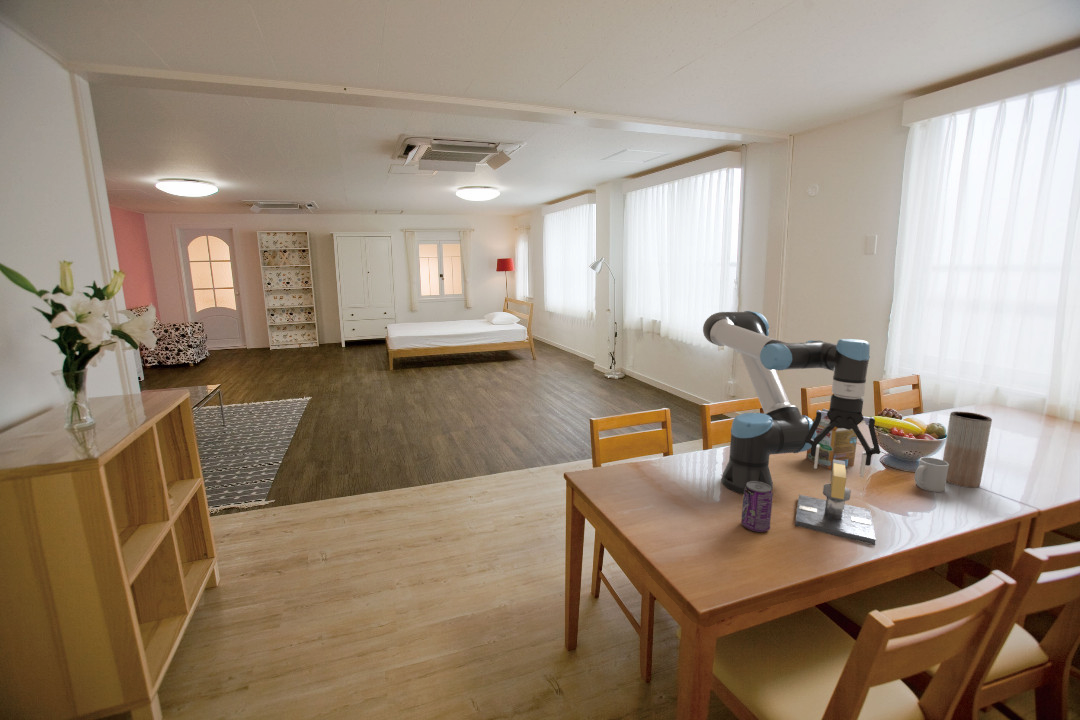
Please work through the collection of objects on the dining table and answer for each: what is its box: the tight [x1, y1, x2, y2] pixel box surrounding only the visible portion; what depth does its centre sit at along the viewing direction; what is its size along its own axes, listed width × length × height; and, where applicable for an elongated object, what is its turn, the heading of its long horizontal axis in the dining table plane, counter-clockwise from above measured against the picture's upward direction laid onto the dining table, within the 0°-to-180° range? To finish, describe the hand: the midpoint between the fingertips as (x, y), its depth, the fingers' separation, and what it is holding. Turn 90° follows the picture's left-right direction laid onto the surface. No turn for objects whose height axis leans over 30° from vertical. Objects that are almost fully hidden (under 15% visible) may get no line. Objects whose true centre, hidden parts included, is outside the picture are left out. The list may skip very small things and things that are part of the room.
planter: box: [942, 410, 993, 488], centre depth 154 cm, size 10×10×23 cm
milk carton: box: [805, 408, 858, 471], centre depth 171 cm, size 11×11×19 cm
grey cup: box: [914, 456, 949, 493], centre depth 151 cm, size 7×10×9 cm
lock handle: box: [822, 459, 852, 502], centre depth 130 cm, size 6×13×8 cm, turn 149°
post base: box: [794, 494, 877, 546], centre depth 131 cm, size 18×18×7 cm
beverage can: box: [740, 481, 774, 533], centre depth 127 cm, size 7×7×12 cm
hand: (838, 471), depth 133 cm, fingers open, 10 cm apart
